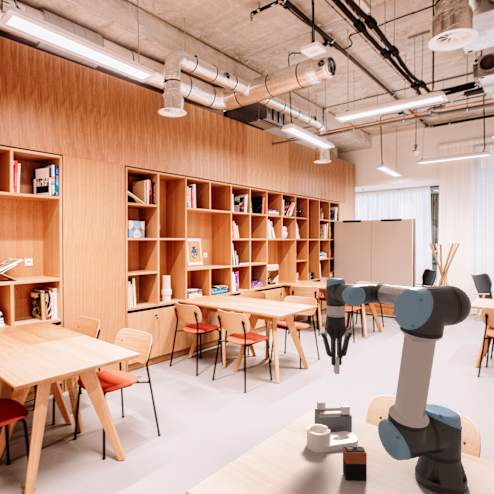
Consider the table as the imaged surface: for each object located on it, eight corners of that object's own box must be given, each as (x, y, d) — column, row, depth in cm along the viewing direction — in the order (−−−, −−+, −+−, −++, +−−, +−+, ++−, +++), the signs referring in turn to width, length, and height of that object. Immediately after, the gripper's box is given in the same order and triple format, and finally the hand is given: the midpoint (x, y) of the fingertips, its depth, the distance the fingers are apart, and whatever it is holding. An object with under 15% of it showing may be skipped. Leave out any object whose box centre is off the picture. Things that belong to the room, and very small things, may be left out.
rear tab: (325, 409, 160) (325, 402, 160) (318, 410, 160) (318, 402, 160) (324, 407, 162) (324, 400, 162) (316, 408, 162) (316, 400, 162)
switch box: (351, 433, 155) (351, 415, 155) (319, 434, 154) (319, 417, 154) (345, 424, 163) (345, 407, 163) (314, 425, 162) (314, 408, 162)
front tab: (349, 414, 156) (349, 407, 156) (342, 414, 155) (342, 407, 155) (348, 412, 158) (348, 404, 158) (340, 412, 157) (340, 405, 157)
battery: (342, 473, 129) (342, 443, 129) (363, 473, 129) (363, 443, 129) (345, 481, 125) (345, 450, 124) (366, 481, 124) (366, 450, 124)
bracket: (312, 454, 141) (312, 436, 140) (303, 442, 149) (303, 425, 149) (361, 447, 145) (362, 429, 145) (350, 435, 154) (350, 419, 154)
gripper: (347, 313, 163) (348, 369, 163) (317, 314, 162) (318, 370, 162) (354, 316, 156) (355, 375, 156) (323, 317, 155) (323, 376, 155)
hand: (336, 372), depth 159 cm, fingers closed
